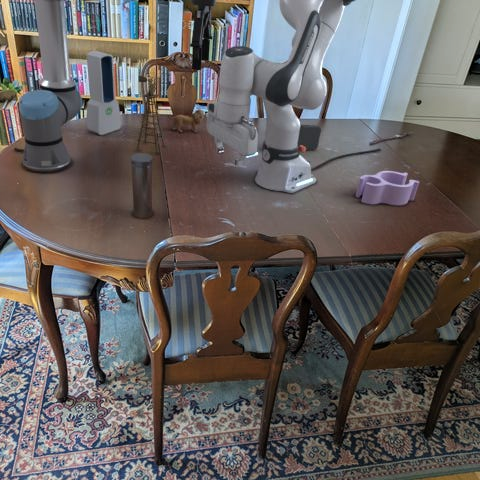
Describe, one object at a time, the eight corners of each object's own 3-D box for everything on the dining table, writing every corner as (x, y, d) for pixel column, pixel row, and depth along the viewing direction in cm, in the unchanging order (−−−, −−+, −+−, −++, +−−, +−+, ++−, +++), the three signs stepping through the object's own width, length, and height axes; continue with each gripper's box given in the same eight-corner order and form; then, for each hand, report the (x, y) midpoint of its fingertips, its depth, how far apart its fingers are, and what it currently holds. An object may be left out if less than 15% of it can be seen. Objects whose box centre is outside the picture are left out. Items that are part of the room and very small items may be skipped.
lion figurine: (201, 127, 203) (202, 107, 198) (204, 132, 199) (205, 111, 194) (168, 129, 198) (168, 108, 193) (170, 133, 194) (171, 112, 189)
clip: (368, 208, 154) (373, 189, 150) (349, 190, 163) (353, 172, 160) (418, 203, 160) (424, 185, 156) (397, 187, 170) (402, 169, 166)
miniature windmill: (157, 154, 175) (156, 71, 159) (135, 150, 176) (133, 68, 160) (165, 145, 182) (165, 66, 166) (144, 142, 183) (143, 62, 167)
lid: (156, 164, 129) (156, 159, 128) (137, 168, 126) (137, 163, 125) (146, 157, 132) (145, 151, 132) (127, 160, 129) (127, 155, 128)
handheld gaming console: (315, 147, 196) (319, 124, 190) (317, 149, 194) (322, 126, 188) (264, 149, 189) (267, 125, 183) (266, 152, 187) (269, 127, 181)
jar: (155, 215, 138) (155, 160, 128) (139, 220, 135) (137, 164, 125) (146, 207, 141) (145, 153, 132) (130, 211, 138) (128, 157, 129)
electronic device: (99, 136, 184) (93, 56, 168) (85, 131, 187) (78, 52, 171) (121, 128, 194) (118, 52, 177) (108, 124, 197) (103, 48, 180)
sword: (408, 132, 223) (408, 130, 222) (413, 134, 221) (414, 132, 220) (365, 144, 207) (365, 141, 206) (370, 146, 205) (370, 144, 204)
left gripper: (209, -5, 127) (205, 75, 138) (223, -12, 148) (218, 58, 159) (181, -8, 127) (180, 72, 139) (199, -15, 148) (197, 55, 160)
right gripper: (266, 122, 121) (259, 171, 128) (222, 99, 134) (219, 145, 141) (246, 125, 117) (241, 175, 125) (203, 101, 131) (201, 148, 138)
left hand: (200, 65), depth 149 cm, fingers open, 13 cm apart
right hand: (229, 159), depth 133 cm, fingers open, 8 cm apart
